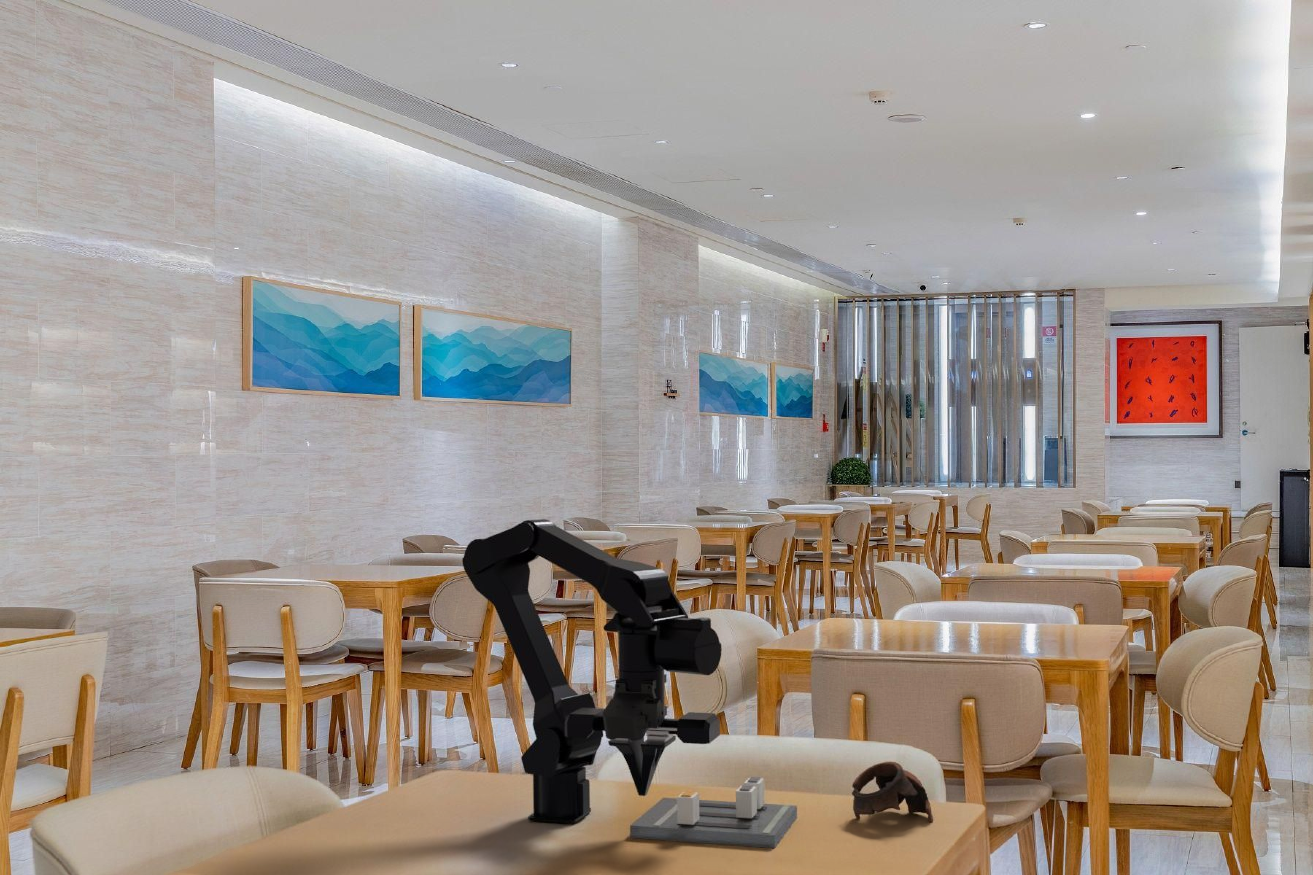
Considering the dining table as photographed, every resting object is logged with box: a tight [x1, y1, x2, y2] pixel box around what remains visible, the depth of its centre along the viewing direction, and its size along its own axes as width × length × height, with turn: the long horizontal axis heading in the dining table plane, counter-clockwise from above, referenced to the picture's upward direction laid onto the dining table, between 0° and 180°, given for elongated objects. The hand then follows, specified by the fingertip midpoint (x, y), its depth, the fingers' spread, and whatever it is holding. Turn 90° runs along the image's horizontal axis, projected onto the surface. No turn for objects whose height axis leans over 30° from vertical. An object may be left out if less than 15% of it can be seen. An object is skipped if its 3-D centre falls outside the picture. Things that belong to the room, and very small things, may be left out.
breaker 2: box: [743, 776, 766, 809], centre depth 161 cm, size 2×3×3 cm
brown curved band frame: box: [851, 761, 934, 824], centre depth 162 cm, size 12×10×8 cm
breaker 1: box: [676, 790, 700, 825], centre depth 155 cm, size 2×3×3 cm
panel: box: [629, 797, 798, 849], centre depth 158 cm, size 18×14×2 cm
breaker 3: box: [735, 784, 757, 818], centre depth 157 cm, size 2×3×3 cm
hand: (642, 794), depth 156 cm, fingers closed
